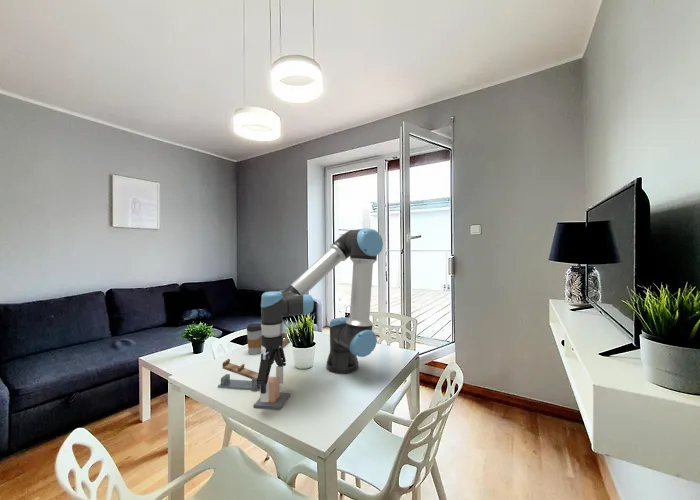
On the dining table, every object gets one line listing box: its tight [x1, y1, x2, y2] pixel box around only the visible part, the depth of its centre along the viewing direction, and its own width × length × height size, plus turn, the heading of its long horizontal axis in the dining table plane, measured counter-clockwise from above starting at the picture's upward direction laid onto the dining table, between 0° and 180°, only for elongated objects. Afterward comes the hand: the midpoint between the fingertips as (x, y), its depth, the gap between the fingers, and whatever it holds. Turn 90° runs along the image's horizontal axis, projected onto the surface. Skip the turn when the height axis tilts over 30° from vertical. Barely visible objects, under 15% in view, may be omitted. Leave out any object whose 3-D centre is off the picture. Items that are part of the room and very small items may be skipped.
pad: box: [253, 391, 292, 411], centre depth 108 cm, size 10×10×1 cm
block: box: [267, 376, 281, 403], centre depth 108 cm, size 5×5×7 cm
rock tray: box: [282, 332, 290, 349], centre depth 175 cm, size 12×16×4 cm
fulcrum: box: [217, 373, 260, 392], centre depth 120 cm, size 22×7×5 cm, turn 81°
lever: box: [221, 358, 259, 380], centre depth 120 cm, size 24×5×3 cm, turn 81°
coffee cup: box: [246, 322, 263, 356], centre depth 158 cm, size 8×8×15 cm
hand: (272, 391), depth 108 cm, fingers open, 13 cm apart
